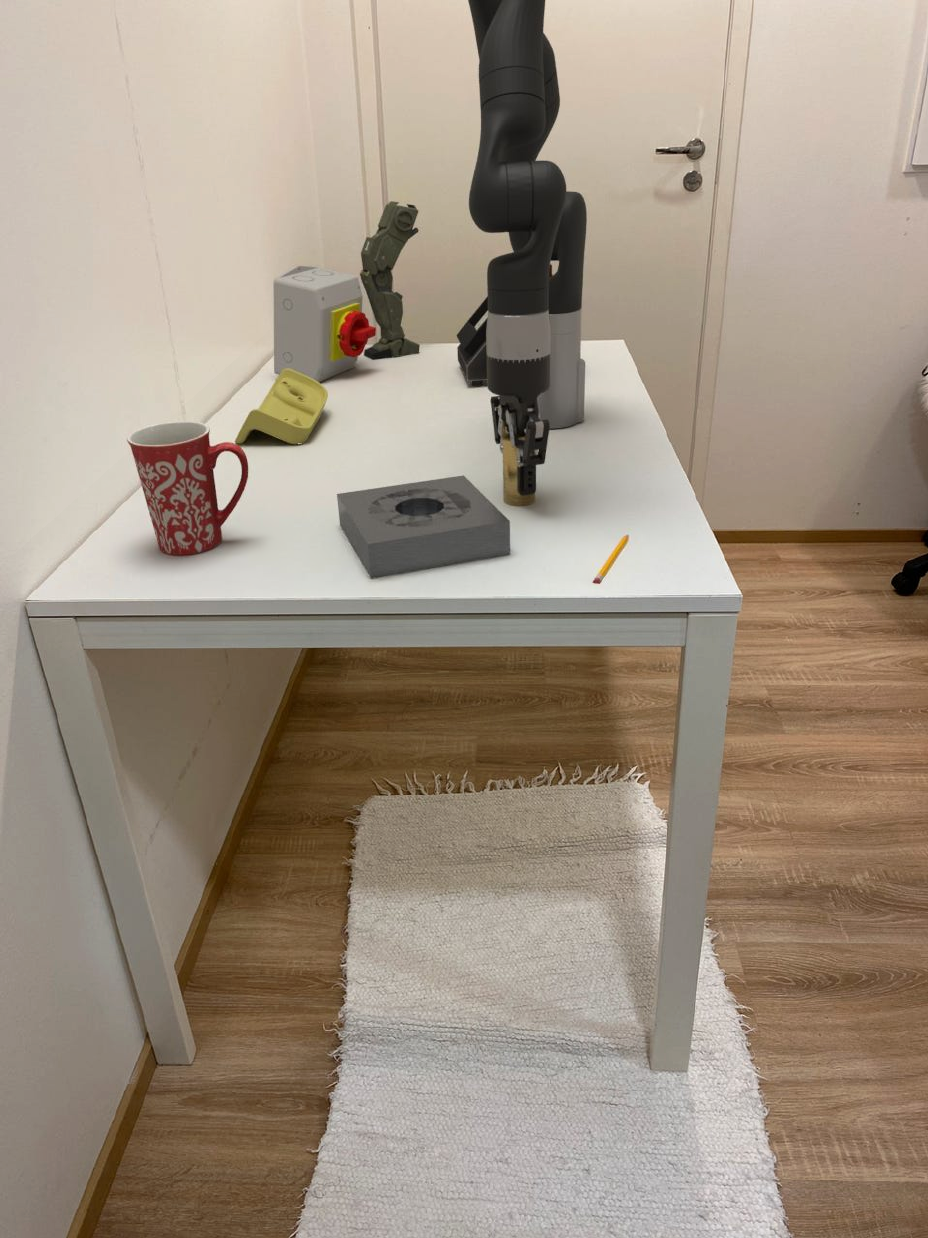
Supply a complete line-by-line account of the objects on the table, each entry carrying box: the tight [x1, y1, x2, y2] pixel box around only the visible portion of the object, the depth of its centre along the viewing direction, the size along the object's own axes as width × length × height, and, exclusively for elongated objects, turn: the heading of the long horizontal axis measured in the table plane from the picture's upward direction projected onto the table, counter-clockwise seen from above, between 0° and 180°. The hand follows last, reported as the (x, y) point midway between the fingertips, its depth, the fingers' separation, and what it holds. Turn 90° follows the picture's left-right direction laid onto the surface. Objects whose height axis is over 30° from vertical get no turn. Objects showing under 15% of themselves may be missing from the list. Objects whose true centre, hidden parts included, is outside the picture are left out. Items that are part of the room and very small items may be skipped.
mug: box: [126, 420, 249, 556], centre depth 107 cm, size 13×9×14 cm
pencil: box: [592, 534, 630, 585], centre depth 103 cm, size 1×13×1 cm, turn 157°
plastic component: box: [234, 368, 329, 445], centre depth 150 cm, size 20×7×10 cm
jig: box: [336, 475, 511, 579], centre depth 108 cm, size 16×16×4 cm
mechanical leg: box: [359, 201, 421, 361], centre depth 188 cm, size 14×7×30 cm, turn 117°
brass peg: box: [502, 436, 536, 507], centre depth 117 cm, size 4×4×8 cm
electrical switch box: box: [273, 264, 377, 383], centre depth 176 cm, size 15×15×20 cm
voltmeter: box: [456, 263, 554, 387], centre depth 171 cm, size 16×16×20 cm
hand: (519, 486), depth 118 cm, fingers open, 4 cm apart
